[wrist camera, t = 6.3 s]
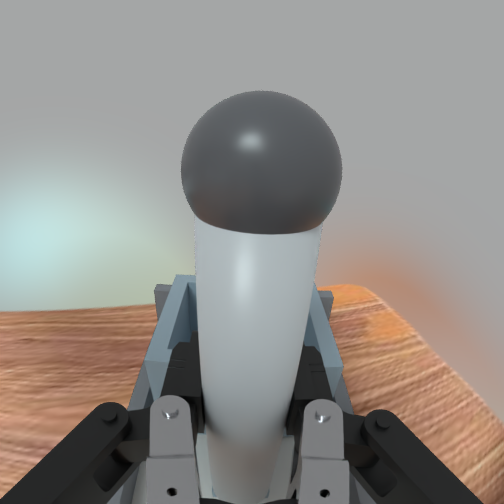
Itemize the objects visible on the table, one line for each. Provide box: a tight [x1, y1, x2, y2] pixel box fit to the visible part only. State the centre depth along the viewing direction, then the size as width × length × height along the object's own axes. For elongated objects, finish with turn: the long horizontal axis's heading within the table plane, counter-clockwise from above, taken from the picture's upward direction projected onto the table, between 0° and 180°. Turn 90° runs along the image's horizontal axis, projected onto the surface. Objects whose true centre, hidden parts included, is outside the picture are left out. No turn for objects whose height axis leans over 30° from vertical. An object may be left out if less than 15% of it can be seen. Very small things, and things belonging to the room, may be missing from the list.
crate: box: [144, 91, 344, 504], centre depth 15 cm, size 10×15×18 cm
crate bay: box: [107, 284, 376, 504], centre depth 15 cm, size 14×25×6 cm, turn 1°
